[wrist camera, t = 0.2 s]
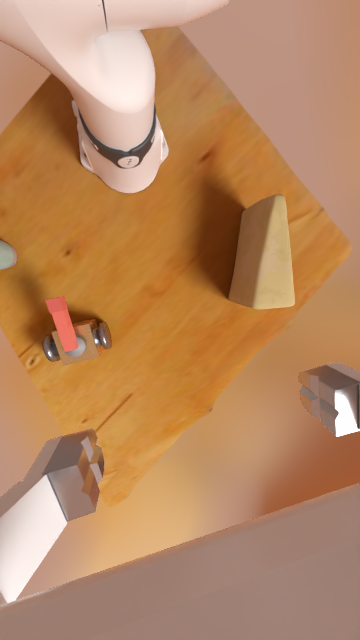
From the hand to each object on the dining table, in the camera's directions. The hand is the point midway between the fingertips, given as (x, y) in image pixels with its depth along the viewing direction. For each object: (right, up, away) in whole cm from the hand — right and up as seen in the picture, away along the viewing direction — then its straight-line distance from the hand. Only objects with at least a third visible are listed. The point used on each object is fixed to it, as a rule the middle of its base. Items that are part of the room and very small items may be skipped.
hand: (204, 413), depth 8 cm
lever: (-25, +2, +38) cm, 46 cm away
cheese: (+16, +20, +48) cm, 54 cm away
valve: (-25, -1, +45) cm, 52 cm away
